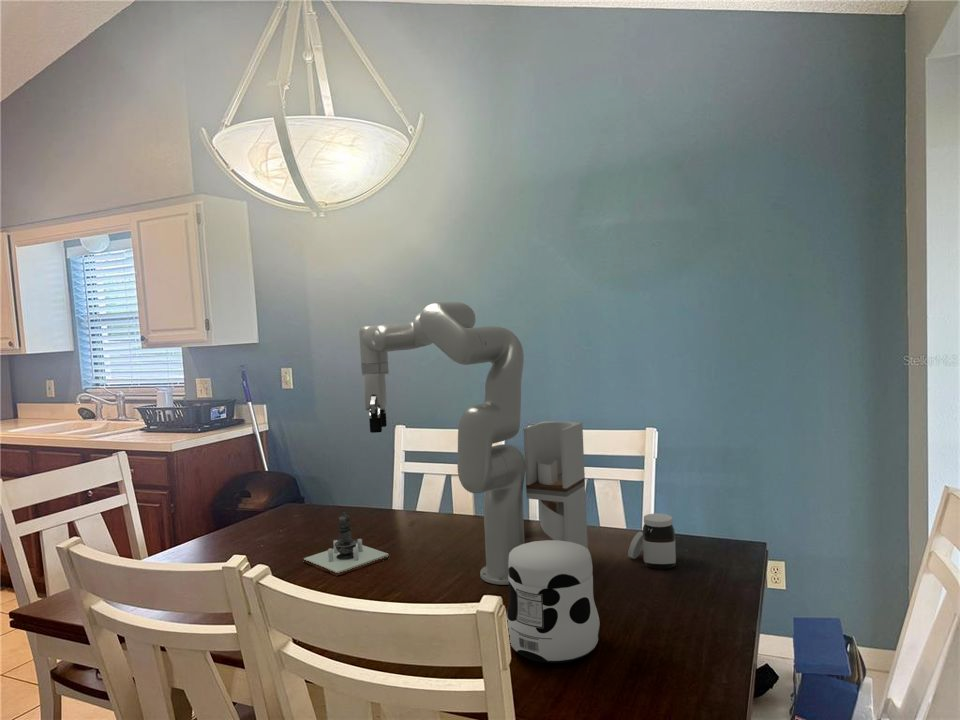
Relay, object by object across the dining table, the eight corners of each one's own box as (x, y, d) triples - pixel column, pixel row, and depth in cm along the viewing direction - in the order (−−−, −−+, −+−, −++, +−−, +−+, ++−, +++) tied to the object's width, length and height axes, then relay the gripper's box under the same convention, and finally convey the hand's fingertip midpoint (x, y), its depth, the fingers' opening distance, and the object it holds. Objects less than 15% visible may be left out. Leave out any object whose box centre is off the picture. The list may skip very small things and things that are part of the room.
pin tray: (389, 558, 178) (388, 542, 178) (337, 576, 167) (336, 559, 166) (353, 546, 189) (353, 530, 189) (303, 562, 178) (302, 546, 178)
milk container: (590, 624, 134) (586, 535, 133) (610, 669, 117) (606, 567, 116) (504, 629, 134) (499, 541, 133) (511, 675, 116) (505, 574, 115)
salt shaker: (348, 551, 182) (345, 507, 181) (362, 554, 178) (359, 510, 178) (330, 557, 177) (327, 512, 177) (345, 561, 174) (342, 516, 173)
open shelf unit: (549, 554, 175) (543, 421, 173) (588, 560, 169) (582, 422, 167) (530, 569, 165) (523, 428, 163) (570, 576, 159) (563, 430, 157)
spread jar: (677, 572, 159) (676, 523, 158) (628, 571, 161) (626, 523, 160) (673, 554, 170) (672, 509, 170) (628, 553, 173) (626, 509, 172)
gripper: (366, 367, 198) (370, 425, 199) (356, 372, 181) (360, 435, 182) (392, 366, 198) (395, 424, 199) (384, 370, 181) (387, 433, 182)
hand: (378, 429), depth 190 cm, fingers open, 9 cm apart
